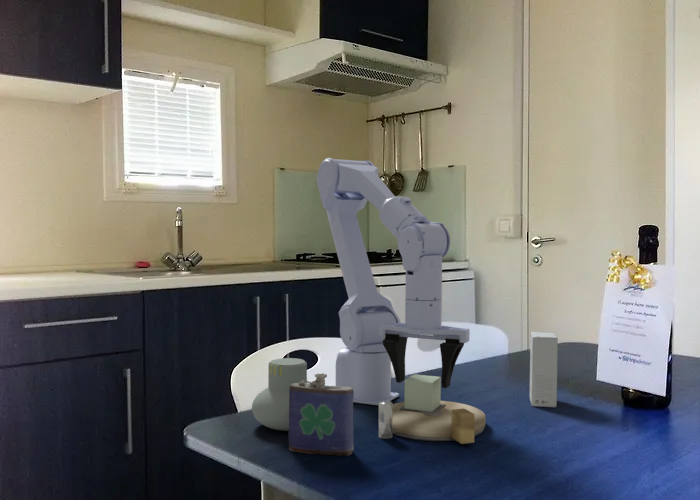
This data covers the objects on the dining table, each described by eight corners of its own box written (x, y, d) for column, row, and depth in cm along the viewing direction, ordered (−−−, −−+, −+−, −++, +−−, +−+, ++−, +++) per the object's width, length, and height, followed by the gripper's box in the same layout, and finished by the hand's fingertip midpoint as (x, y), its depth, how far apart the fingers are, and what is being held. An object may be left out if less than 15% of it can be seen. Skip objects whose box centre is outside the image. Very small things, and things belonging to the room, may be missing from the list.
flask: (355, 450, 91) (355, 373, 91) (349, 458, 88) (349, 377, 88) (292, 444, 94) (291, 369, 93) (284, 451, 91) (284, 373, 90)
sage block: (404, 408, 105) (404, 380, 105) (414, 401, 109) (414, 374, 109) (431, 411, 103) (431, 382, 103) (440, 404, 107) (440, 376, 107)
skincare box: (557, 408, 113) (558, 337, 112) (531, 406, 114) (532, 336, 113) (553, 399, 119) (554, 332, 118) (529, 397, 119) (529, 331, 119)
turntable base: (361, 435, 98) (361, 401, 98) (403, 406, 113) (403, 377, 113) (464, 451, 91) (464, 414, 91) (494, 418, 106) (495, 387, 106)
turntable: (362, 429, 99) (362, 402, 99) (403, 402, 114) (403, 379, 113) (471, 445, 92) (471, 416, 91) (499, 414, 106) (499, 390, 106)
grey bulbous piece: (297, 413, 109) (297, 353, 109) (332, 424, 103) (332, 360, 103) (242, 427, 102) (242, 362, 101) (276, 440, 96) (276, 371, 95)
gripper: (371, 299, 105) (370, 384, 106) (460, 304, 99) (459, 394, 99) (388, 294, 111) (388, 375, 112) (473, 299, 105) (472, 384, 106)
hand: (422, 383), depth 106 cm, fingers open, 7 cm apart
